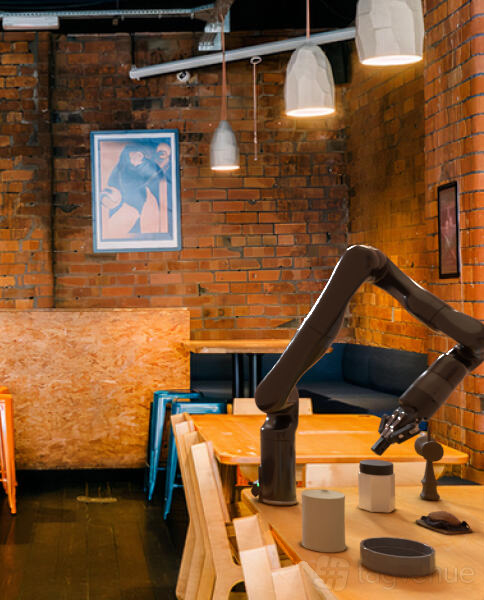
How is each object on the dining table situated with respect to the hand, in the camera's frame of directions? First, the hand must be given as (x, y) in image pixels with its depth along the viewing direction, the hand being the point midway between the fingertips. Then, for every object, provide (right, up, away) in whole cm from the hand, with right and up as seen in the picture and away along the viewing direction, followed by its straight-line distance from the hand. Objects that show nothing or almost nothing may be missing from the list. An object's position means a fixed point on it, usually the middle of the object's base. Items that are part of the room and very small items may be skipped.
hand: (375, 452), depth 178 cm
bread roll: (+21, -20, +11) cm, 31 cm away
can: (-12, -20, -3) cm, 24 cm away
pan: (-3, -20, -17) cm, 26 cm away
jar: (+13, -20, +29) cm, 38 cm away
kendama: (+32, -20, +39) cm, 54 cm away
